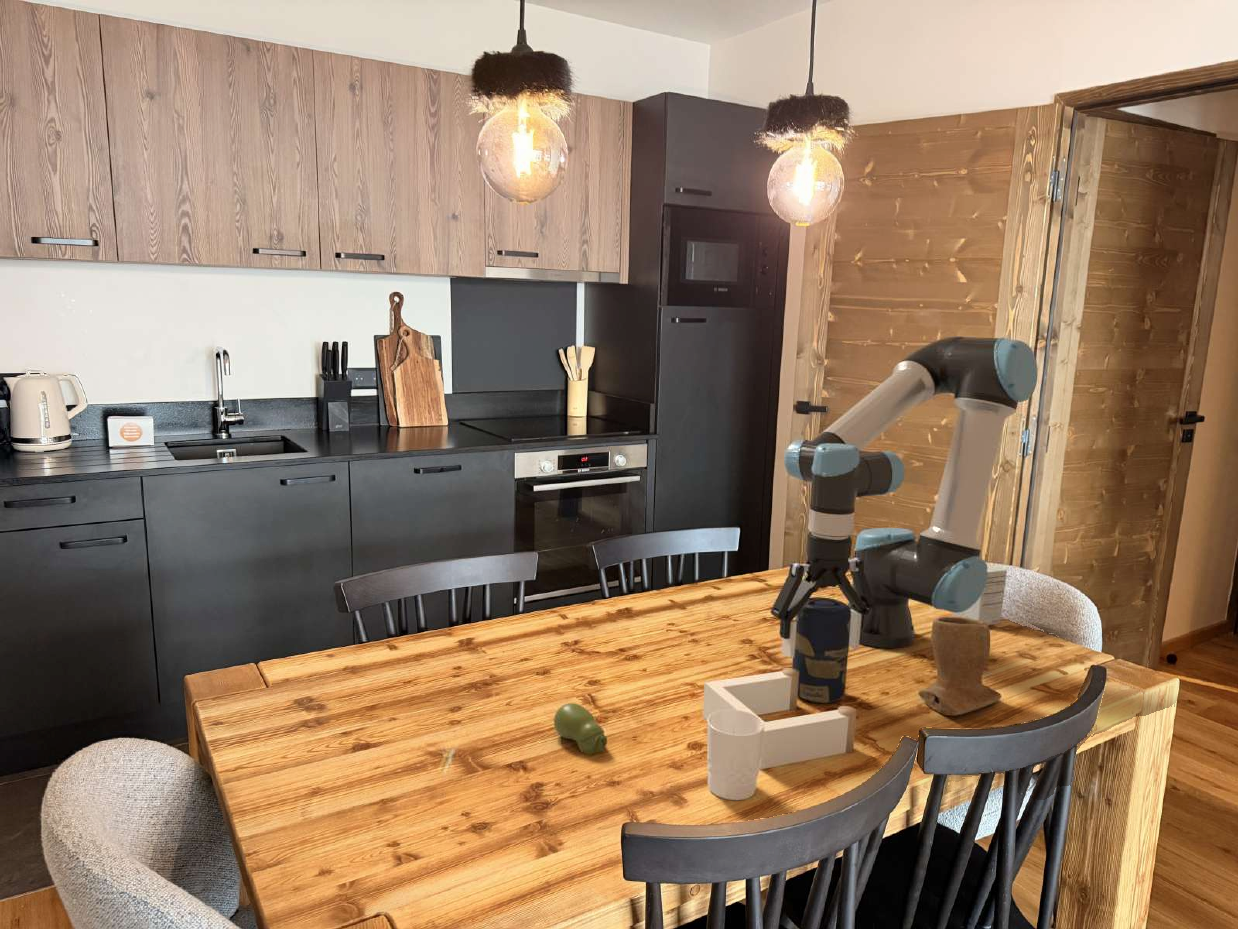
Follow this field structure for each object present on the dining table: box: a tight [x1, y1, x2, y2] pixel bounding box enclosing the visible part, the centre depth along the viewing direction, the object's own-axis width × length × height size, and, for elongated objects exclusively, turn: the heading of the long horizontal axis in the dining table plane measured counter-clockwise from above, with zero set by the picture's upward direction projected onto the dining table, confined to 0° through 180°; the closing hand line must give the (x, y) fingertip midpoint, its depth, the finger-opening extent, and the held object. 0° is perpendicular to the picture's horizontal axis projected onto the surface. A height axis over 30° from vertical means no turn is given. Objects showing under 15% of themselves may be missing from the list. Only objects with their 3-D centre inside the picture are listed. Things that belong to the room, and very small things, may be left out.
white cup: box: [706, 710, 765, 801], centre depth 122 cm, size 8×8×10 cm
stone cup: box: [917, 616, 1002, 717], centre depth 152 cm, size 15×12×15 cm
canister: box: [791, 596, 851, 704], centre depth 153 cm, size 10×10×18 cm
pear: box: [553, 702, 608, 756], centre depth 134 cm, size 6×5×10 cm
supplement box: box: [953, 563, 1008, 626], centre depth 196 cm, size 7×7×13 cm
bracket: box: [702, 667, 857, 770], centre depth 139 cm, size 17×18×6 cm
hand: (820, 651), depth 153 cm, fingers open, 13 cm apart
